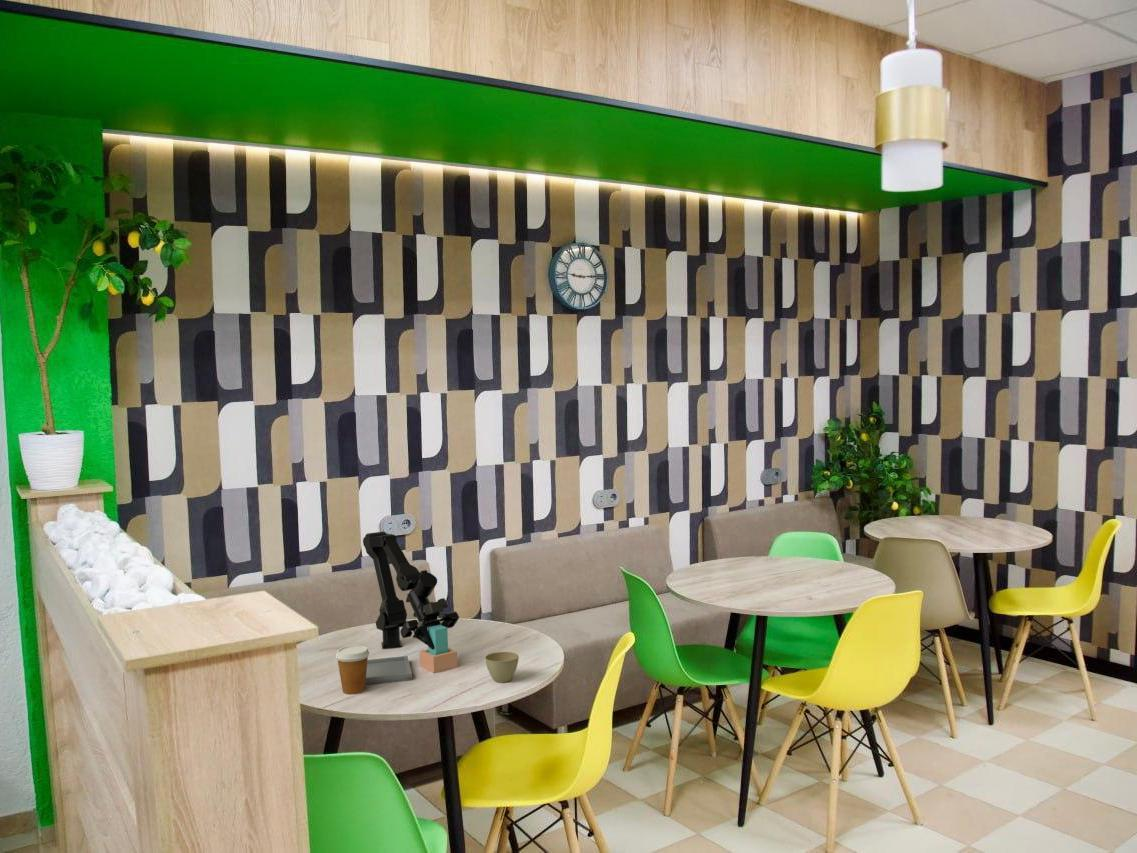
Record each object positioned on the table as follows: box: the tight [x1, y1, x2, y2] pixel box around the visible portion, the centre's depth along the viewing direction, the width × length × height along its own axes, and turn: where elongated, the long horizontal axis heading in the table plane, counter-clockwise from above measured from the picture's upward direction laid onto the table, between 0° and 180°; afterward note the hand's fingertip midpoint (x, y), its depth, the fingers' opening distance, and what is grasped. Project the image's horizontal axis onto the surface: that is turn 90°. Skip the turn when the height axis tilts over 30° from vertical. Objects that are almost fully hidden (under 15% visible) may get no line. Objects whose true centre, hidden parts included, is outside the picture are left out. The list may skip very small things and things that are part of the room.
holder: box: [419, 647, 458, 674], centre depth 285 cm, size 8×8×5 cm
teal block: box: [427, 625, 449, 655], centre depth 285 cm, size 4×4×12 cm
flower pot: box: [484, 651, 519, 683], centre depth 271 cm, size 10×10×7 cm
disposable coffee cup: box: [335, 645, 370, 695], centre depth 265 cm, size 10×10×12 cm
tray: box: [365, 655, 413, 686], centre depth 280 cm, size 18×16×2 cm
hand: (440, 647), depth 283 cm, fingers closed on teal block, 4 cm apart
